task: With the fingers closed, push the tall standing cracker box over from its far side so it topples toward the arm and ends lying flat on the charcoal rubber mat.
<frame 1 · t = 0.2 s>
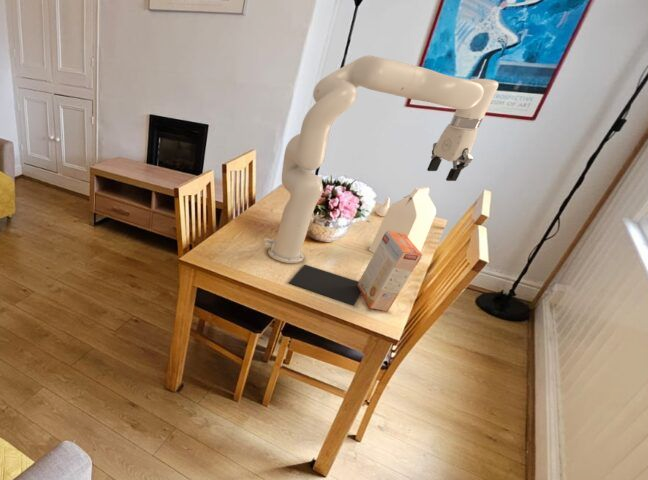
hand: (440, 175, 151), 31 cm above the table, tool pointing down, fingers open, 9 cm apart
mat: (327, 284, 152), on the table
cracker box: (371, 298, 145), on the table, touching mat
milk: (392, 254, 170), on the table
garlic bulb: (382, 215, 200), on the table
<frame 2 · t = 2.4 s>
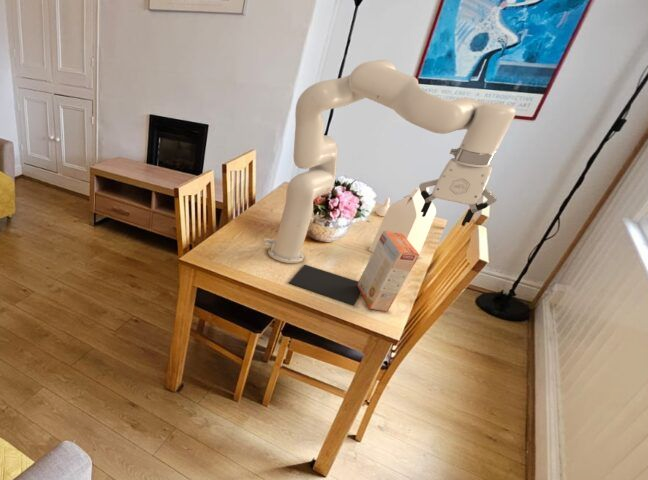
hand: (443, 219, 124), 30 cm above the table, tool pointing down, fingers open, 8 cm apart
nothing on the table moved.
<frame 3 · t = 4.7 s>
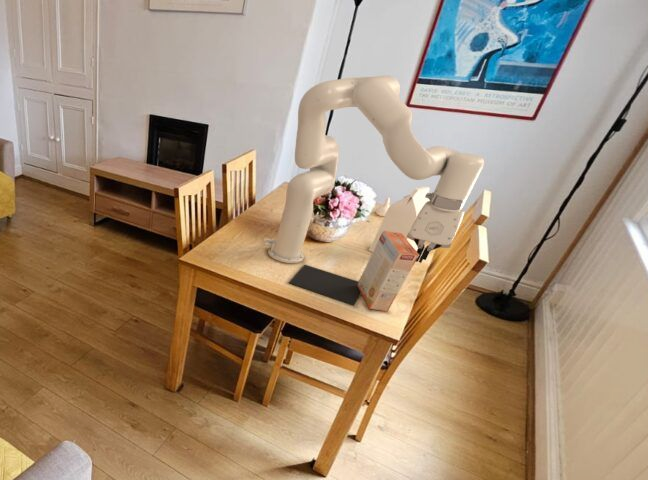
hand: (418, 260, 132), 17 cm above the table, tool pointing down, fingers closed
cracker box: (371, 298, 145), on the table, touching gripper, mat
everything else where it was.
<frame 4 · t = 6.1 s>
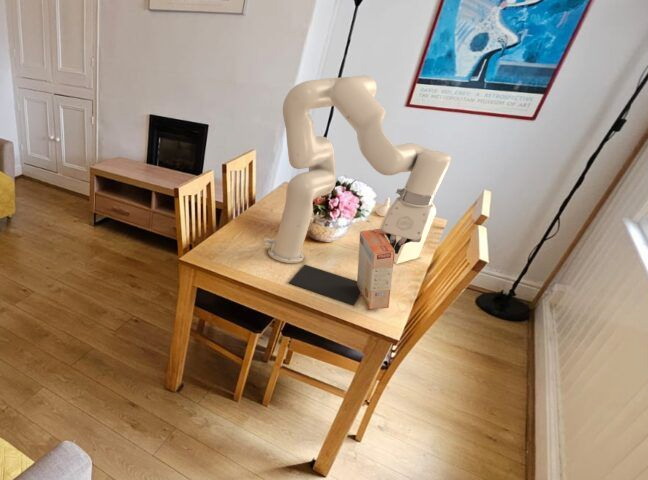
hand: (391, 254, 136), 16 cm above the table, tool pointing down, fingers closed
cracker box: (372, 296, 145), point 1 cm above the table, touching mat
everything else where it was.
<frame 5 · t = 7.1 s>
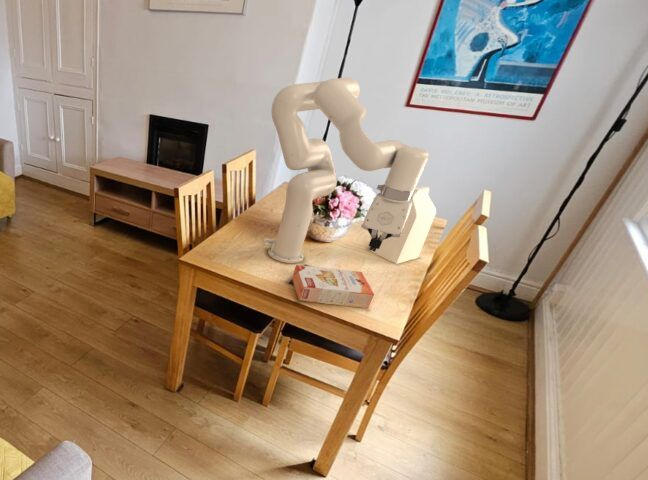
hand: (372, 249, 139), 16 cm above the table, tool pointing down, fingers closed
cracker box: (366, 289, 144), point 3 cm above the table, touching mat
everything else where it was.
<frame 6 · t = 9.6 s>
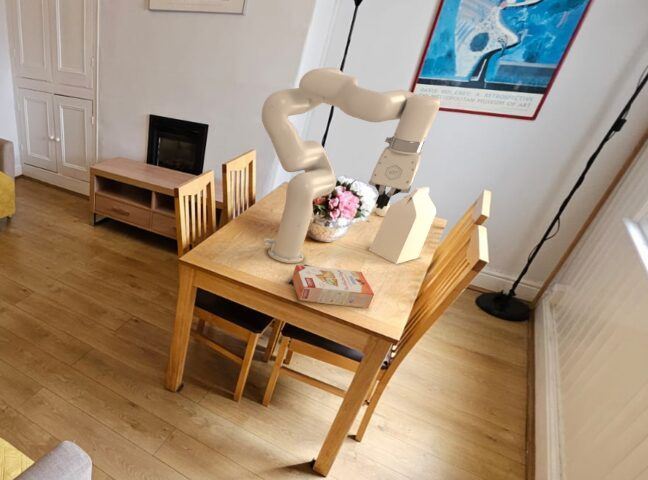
hand: (380, 207, 134), 29 cm above the table, tool pointing down, fingers closed
nothing on the table moved.
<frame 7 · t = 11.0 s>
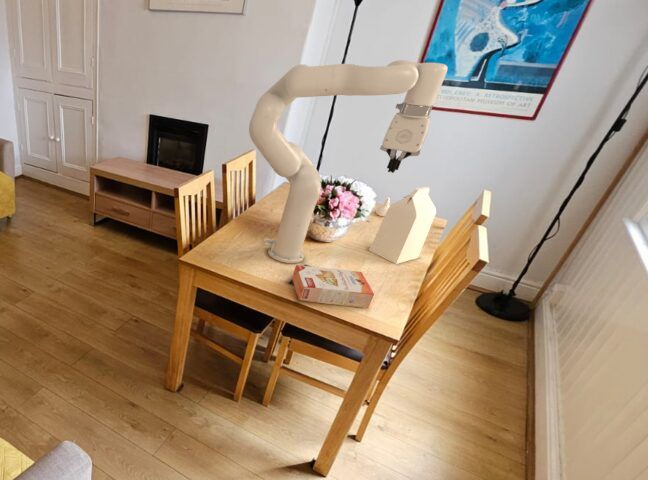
hand: (391, 171, 142), 35 cm above the table, tool pointing down, fingers closed
nothing on the table moved.
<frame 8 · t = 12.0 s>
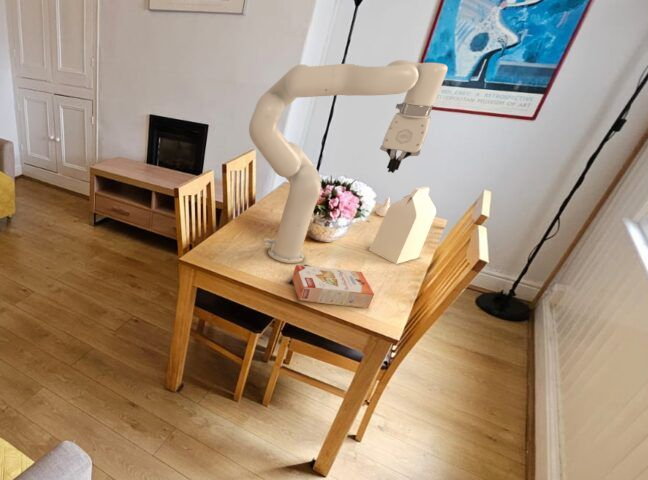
hand: (391, 171, 142), 35 cm above the table, tool pointing down, fingers closed
nothing on the table moved.
at the end: cracker box tilted 91°; cracker box inside the target area on the mat (10.9 cm from its centre), point 3.5 cm above the mat's base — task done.
